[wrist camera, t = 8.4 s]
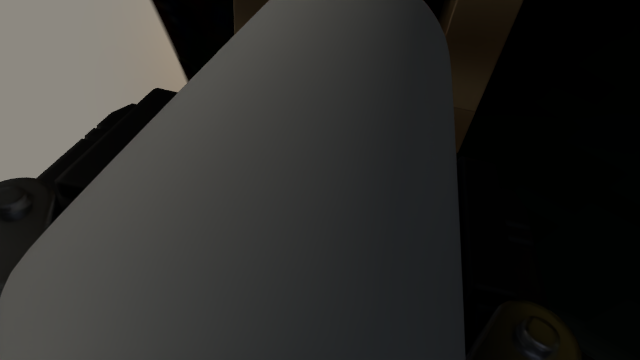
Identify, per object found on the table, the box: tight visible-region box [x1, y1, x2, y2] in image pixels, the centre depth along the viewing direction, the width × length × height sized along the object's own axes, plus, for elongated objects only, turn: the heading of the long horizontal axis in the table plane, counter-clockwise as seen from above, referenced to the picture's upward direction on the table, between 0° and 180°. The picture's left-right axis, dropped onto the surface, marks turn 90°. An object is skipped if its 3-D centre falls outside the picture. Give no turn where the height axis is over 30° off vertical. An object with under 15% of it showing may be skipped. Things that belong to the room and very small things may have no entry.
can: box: [0, 0, 466, 360], centre depth 9 cm, size 6×6×12 cm
